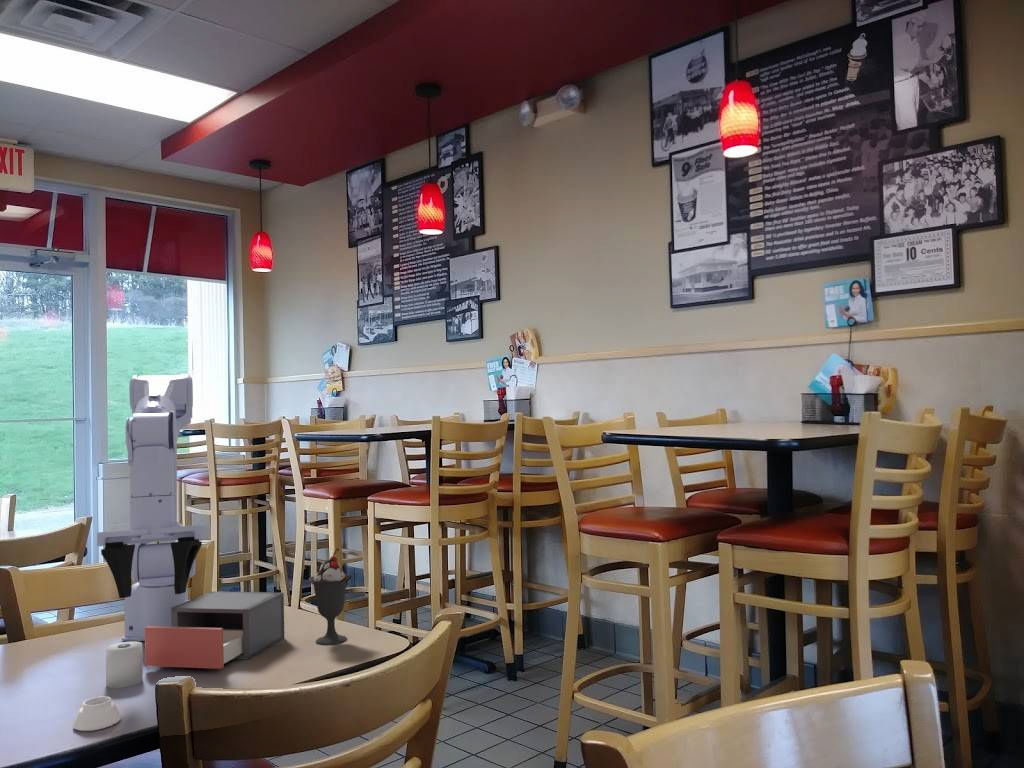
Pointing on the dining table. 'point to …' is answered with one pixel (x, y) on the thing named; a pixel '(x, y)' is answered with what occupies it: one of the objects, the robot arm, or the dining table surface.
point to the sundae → (330, 596)
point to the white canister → (124, 664)
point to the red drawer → (191, 646)
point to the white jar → (96, 714)
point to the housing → (237, 617)
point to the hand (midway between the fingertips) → (152, 595)
